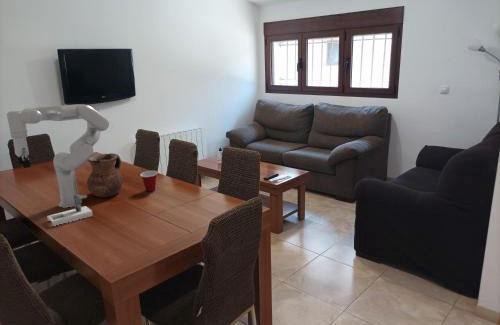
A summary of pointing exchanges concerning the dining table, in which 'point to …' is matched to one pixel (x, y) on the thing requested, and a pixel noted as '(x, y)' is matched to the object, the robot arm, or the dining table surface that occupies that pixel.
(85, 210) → the keyhole plate
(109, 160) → the jug
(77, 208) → the peg
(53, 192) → the dining table surface
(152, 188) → the plastic cup
